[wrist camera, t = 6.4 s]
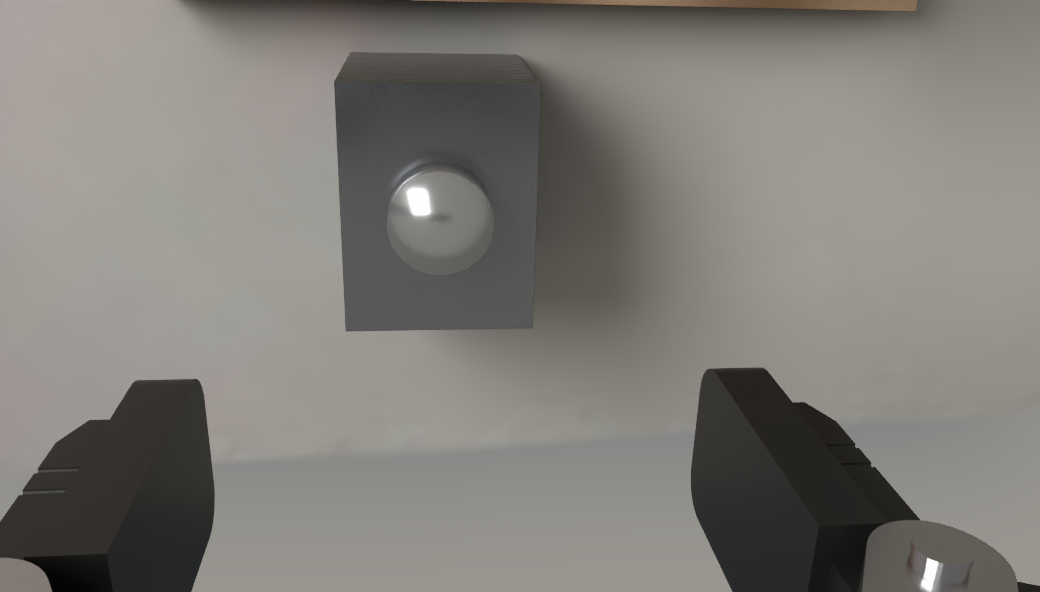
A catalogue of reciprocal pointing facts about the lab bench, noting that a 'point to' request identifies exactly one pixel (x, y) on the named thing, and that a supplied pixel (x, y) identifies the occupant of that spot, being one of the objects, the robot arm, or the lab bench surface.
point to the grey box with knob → (437, 190)
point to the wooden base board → (741, 3)
